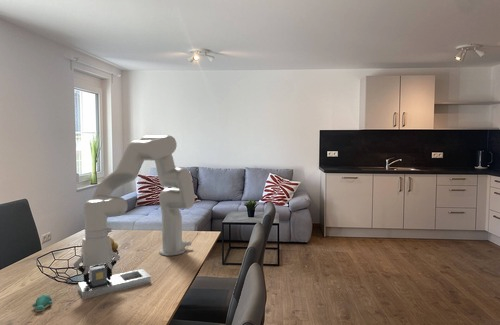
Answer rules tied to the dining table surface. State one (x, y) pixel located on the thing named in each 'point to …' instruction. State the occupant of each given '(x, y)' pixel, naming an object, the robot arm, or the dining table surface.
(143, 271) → the rail
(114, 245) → the bread roll
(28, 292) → the dining table surface
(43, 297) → the whale figurine
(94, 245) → the robot arm
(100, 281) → the block
